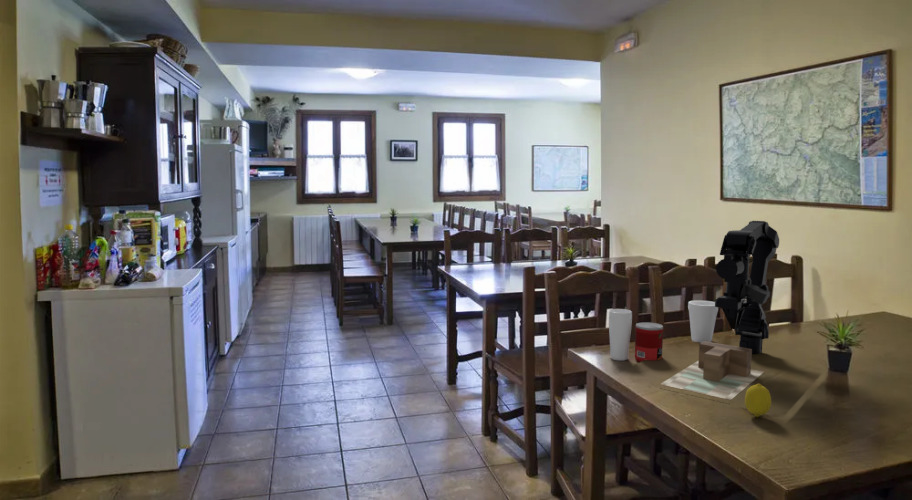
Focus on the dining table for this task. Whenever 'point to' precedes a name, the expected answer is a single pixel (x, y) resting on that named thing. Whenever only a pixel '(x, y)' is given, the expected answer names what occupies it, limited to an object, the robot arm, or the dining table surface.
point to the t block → (723, 360)
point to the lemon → (758, 400)
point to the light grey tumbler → (619, 333)
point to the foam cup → (702, 320)
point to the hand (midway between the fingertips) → (734, 328)
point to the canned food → (648, 341)
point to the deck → (710, 382)
